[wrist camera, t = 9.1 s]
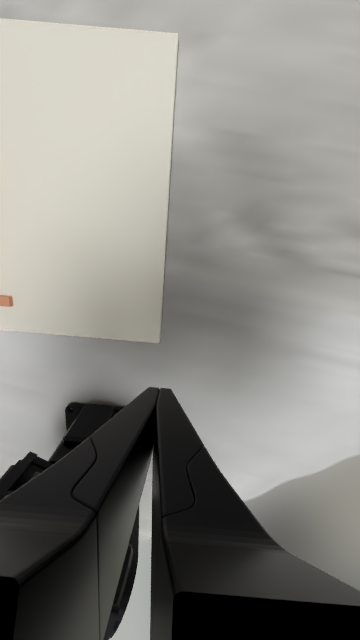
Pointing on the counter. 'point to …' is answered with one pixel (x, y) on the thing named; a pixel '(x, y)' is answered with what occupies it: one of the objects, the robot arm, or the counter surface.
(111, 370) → the counter surface
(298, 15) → the counter surface
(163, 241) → the board
